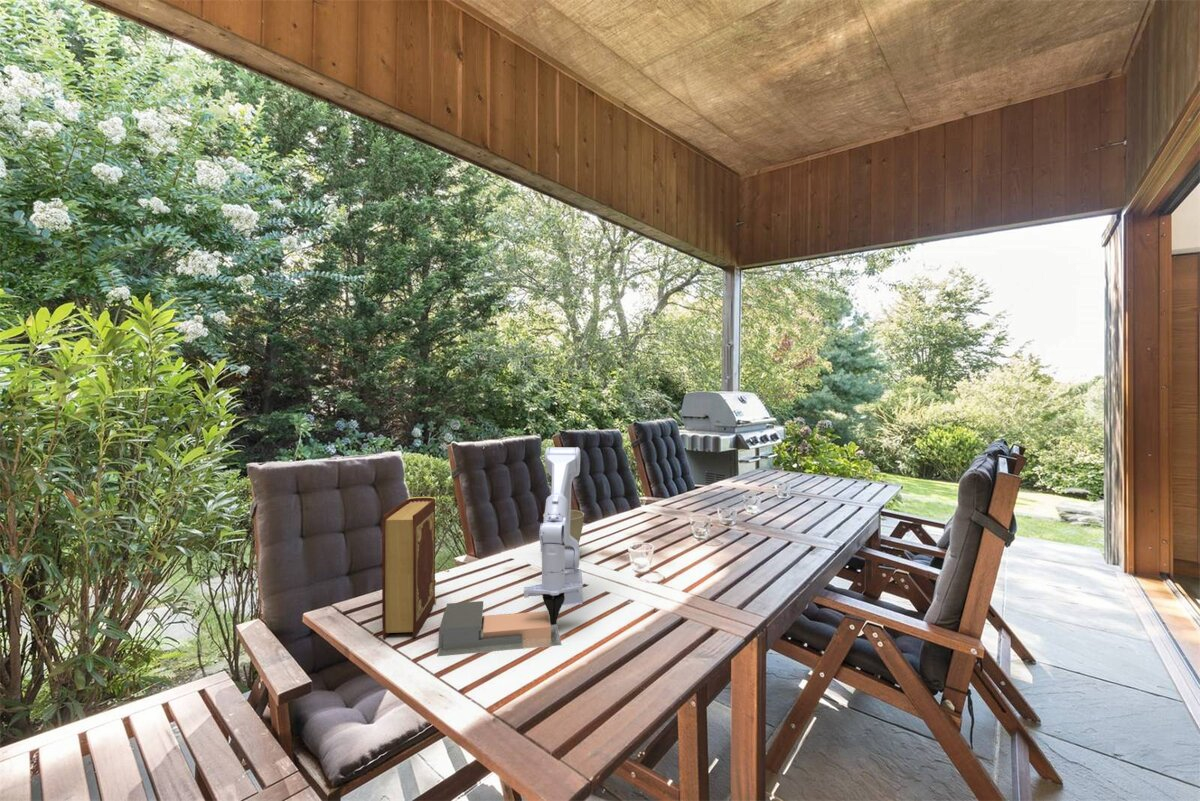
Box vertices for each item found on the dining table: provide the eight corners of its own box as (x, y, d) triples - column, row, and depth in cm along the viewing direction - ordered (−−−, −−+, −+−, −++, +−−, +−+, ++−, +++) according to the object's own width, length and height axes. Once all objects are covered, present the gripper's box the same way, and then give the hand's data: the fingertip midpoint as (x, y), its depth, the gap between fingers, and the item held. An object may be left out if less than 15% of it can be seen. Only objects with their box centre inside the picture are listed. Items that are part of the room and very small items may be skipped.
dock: (554, 614, 134) (554, 592, 134) (561, 647, 117) (561, 622, 117) (445, 622, 129) (445, 600, 129) (436, 659, 111) (436, 633, 111)
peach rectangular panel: (547, 620, 129) (547, 610, 129) (550, 636, 121) (550, 626, 121) (484, 625, 126) (484, 616, 126) (482, 642, 118) (483, 632, 118)
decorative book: (409, 601, 142) (409, 496, 142) (437, 601, 143) (437, 496, 142) (381, 640, 120) (381, 515, 119) (415, 639, 120) (415, 515, 120)
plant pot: (543, 552, 188) (543, 509, 187) (582, 551, 189) (582, 509, 189) (542, 565, 173) (543, 519, 173) (585, 564, 174) (585, 518, 174)
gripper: (524, 576, 120) (524, 632, 120) (584, 572, 123) (584, 627, 123) (523, 566, 127) (523, 620, 127) (580, 563, 130) (579, 615, 130)
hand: (553, 623), depth 125 cm, fingers closed
